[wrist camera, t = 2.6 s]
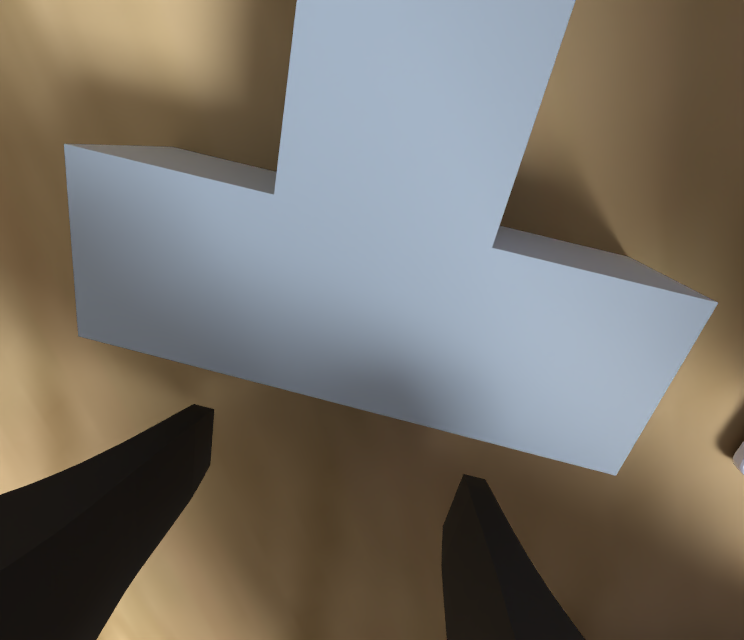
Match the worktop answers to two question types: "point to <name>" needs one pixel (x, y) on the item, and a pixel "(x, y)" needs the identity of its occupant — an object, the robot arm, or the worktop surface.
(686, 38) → the worktop surface
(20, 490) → the robot arm
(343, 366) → the T block
